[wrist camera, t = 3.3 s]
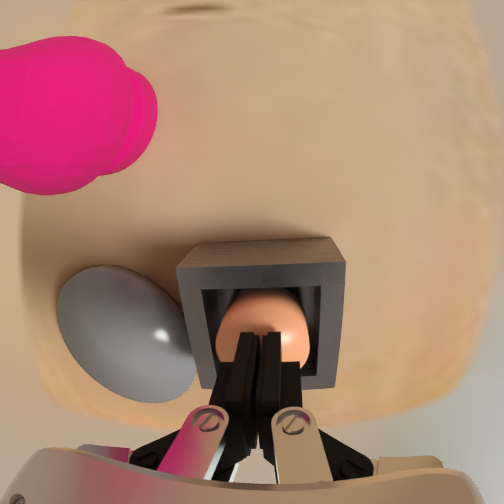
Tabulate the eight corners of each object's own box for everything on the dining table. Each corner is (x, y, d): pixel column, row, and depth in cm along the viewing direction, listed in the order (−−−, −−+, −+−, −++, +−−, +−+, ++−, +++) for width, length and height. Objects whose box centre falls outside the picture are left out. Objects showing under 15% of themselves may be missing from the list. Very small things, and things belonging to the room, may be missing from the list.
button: (220, 284, 14) (209, 309, 11) (306, 282, 13) (310, 307, 11) (229, 351, 15) (222, 381, 12) (305, 350, 14) (307, 381, 12)
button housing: (197, 243, 15) (175, 267, 12) (331, 237, 14) (345, 261, 11) (214, 350, 17) (201, 388, 14) (326, 348, 16) (334, 387, 13)
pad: (47, 266, 17) (39, 271, 16) (182, 262, 16) (176, 268, 15) (92, 383, 20) (87, 390, 19) (211, 401, 19) (208, 410, 18)
